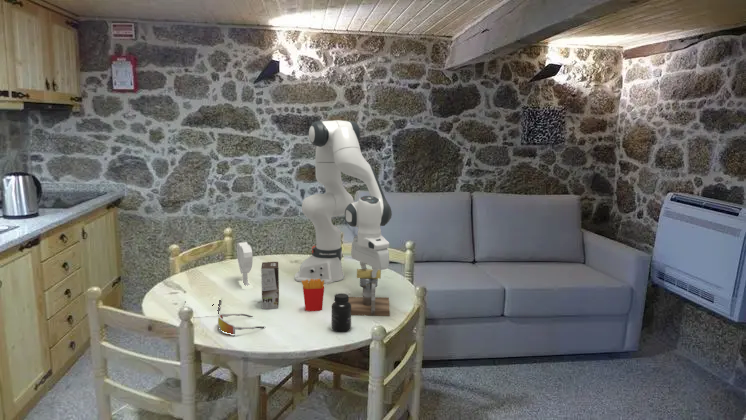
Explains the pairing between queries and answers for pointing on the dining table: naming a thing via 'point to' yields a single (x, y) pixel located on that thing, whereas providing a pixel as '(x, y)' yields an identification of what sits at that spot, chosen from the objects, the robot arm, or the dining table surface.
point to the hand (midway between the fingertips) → (369, 275)
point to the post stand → (369, 304)
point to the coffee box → (270, 285)
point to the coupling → (367, 278)
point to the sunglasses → (231, 328)
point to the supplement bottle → (341, 313)
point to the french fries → (313, 294)
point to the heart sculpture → (244, 260)
